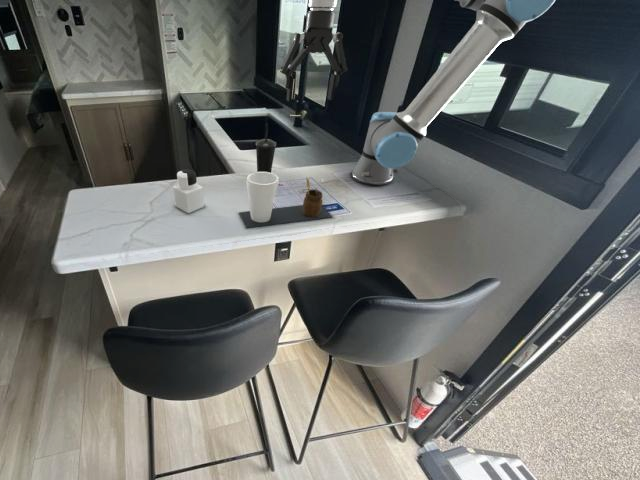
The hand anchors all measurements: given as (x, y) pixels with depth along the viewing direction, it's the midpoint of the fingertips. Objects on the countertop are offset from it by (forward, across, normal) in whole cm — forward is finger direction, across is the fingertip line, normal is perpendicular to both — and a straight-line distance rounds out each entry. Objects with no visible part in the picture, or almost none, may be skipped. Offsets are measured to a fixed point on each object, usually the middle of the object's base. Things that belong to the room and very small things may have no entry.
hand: (309, 100), depth 102 cm
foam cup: (+28, +19, +20) cm, 40 cm away
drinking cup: (+29, +11, -9) cm, 32 cm away
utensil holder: (+28, +2, +20) cm, 35 cm away
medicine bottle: (+29, +41, +8) cm, 51 cm away
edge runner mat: (+29, +10, +19) cm, 36 cm away
